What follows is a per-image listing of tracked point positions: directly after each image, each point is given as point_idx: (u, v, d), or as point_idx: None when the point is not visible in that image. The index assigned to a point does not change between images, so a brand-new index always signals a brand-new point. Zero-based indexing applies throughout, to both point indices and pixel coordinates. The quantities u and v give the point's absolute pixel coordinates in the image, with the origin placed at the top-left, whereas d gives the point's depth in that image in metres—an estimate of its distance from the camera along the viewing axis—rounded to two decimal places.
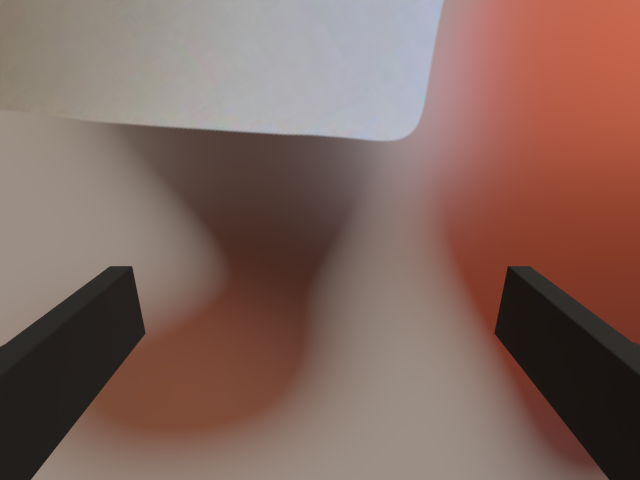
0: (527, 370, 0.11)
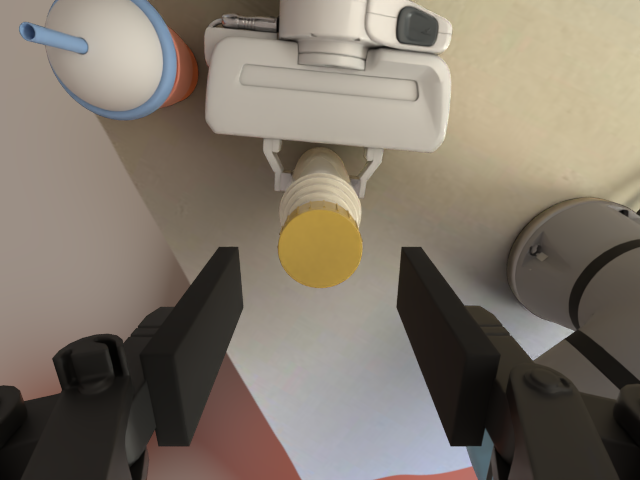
0: (409, 335, 0.13)
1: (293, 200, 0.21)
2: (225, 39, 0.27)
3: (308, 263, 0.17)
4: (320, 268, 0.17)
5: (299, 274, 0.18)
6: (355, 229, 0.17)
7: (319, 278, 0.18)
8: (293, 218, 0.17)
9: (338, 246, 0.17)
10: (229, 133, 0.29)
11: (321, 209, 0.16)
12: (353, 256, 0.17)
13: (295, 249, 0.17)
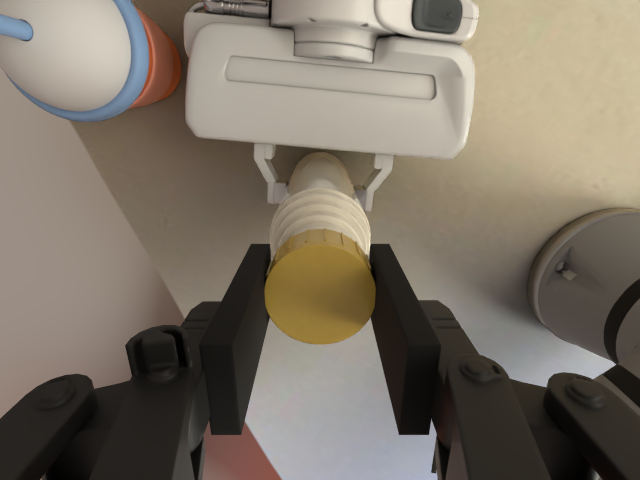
0: (374, 329, 0.13)
1: (286, 223, 0.17)
2: (207, 26, 0.23)
3: (304, 314, 0.13)
4: (320, 320, 0.13)
5: (292, 327, 0.13)
6: (367, 270, 0.12)
7: (319, 332, 0.13)
8: (284, 256, 0.12)
9: (344, 292, 0.13)
10: (214, 137, 0.25)
11: (322, 244, 0.12)
12: (364, 305, 0.13)
13: (287, 296, 0.13)
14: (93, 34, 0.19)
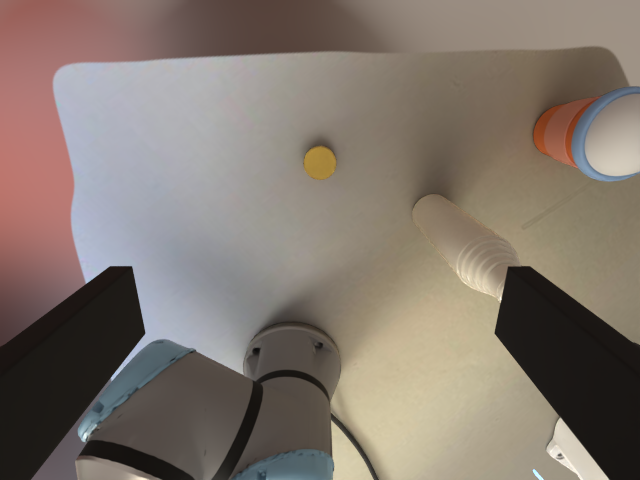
0: (527, 370, 0.11)
1: None
2: None
3: (313, 165, 0.45)
4: (315, 169, 0.45)
5: (307, 167, 0.45)
6: (335, 164, 0.45)
7: (312, 173, 0.45)
8: (319, 147, 0.44)
9: (326, 166, 0.45)
10: None
11: (329, 150, 0.44)
12: (328, 173, 0.45)
13: (312, 157, 0.44)
14: (623, 167, 0.34)
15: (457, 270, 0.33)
